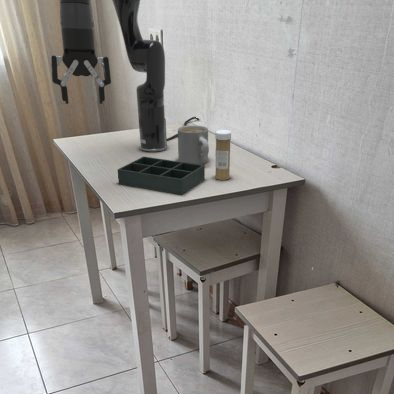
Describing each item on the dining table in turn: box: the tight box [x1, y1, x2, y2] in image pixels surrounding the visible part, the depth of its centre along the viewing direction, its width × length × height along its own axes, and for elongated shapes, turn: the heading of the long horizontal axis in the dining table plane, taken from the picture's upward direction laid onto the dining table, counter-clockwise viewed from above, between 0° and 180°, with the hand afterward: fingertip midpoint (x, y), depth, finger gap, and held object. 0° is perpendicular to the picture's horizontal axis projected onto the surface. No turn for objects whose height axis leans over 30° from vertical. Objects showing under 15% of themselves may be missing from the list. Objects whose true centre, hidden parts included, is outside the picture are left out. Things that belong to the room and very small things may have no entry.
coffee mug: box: [177, 124, 210, 165], centre depth 157 cm, size 13×10×10 cm
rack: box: [116, 156, 206, 196], centre depth 143 cm, size 15×22×4 cm
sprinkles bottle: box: [214, 129, 232, 181], centre depth 143 cm, size 5×5×13 cm
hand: (83, 103), depth 122 cm, fingers open, 8 cm apart
